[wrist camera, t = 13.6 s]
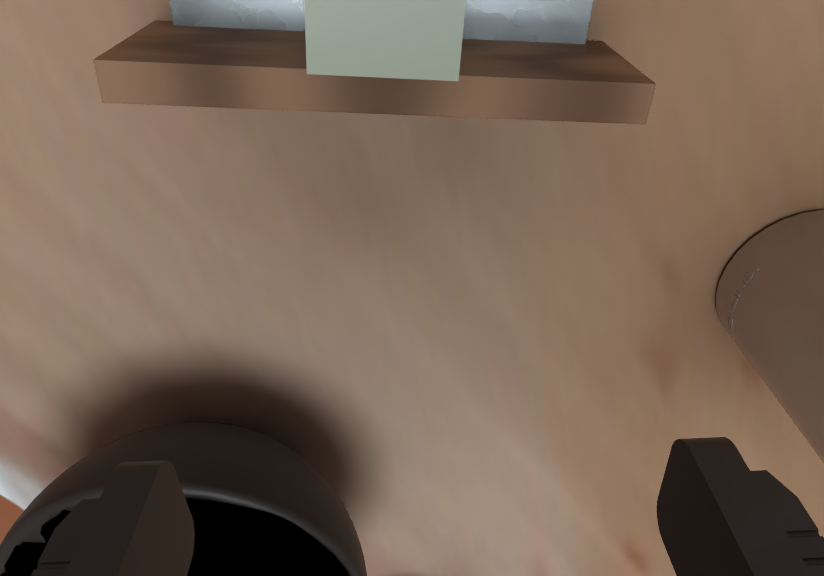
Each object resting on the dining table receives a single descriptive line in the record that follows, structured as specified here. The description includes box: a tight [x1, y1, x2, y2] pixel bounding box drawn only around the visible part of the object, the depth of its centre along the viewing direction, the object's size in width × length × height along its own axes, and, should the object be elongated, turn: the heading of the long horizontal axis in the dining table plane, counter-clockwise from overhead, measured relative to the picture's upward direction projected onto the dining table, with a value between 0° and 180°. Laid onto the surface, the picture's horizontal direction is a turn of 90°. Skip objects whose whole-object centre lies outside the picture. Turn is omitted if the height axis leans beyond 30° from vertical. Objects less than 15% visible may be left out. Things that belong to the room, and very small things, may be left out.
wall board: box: [93, 21, 656, 124], centre depth 26 cm, size 20×2×7 cm, turn 87°
